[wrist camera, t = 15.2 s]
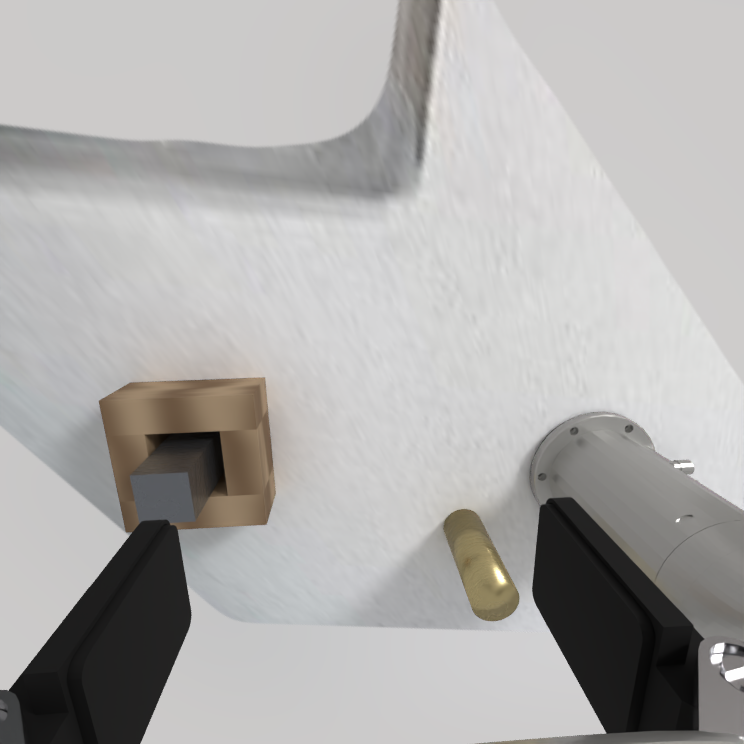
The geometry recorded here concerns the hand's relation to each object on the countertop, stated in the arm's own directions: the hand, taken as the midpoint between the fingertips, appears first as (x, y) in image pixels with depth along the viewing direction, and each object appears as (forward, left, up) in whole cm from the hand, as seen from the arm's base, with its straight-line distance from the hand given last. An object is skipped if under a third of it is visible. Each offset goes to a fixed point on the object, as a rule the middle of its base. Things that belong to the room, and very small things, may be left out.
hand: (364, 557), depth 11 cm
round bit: (-11, +20, -28) cm, 36 cm away
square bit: (+14, +9, -28) cm, 33 cm away
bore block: (+14, +9, -28) cm, 33 cm away
